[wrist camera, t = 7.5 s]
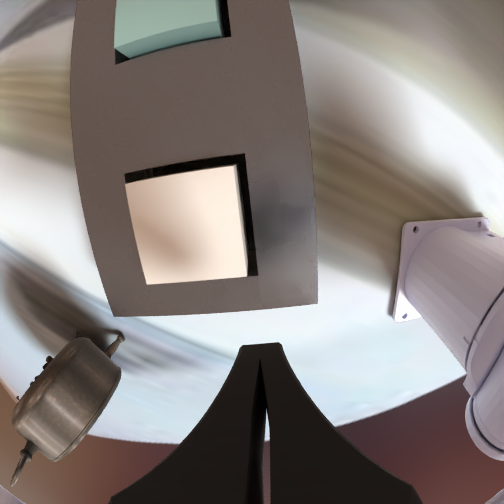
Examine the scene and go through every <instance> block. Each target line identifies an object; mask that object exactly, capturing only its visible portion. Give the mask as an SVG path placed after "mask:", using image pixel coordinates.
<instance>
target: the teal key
mask: <svg viewBox="0 0 504 504" xmlns="http://www.w3.org/2000/svg"><path fill="white" fill-rule="evenodd" d="M219 38H224V29H223V20H222V11H221V2H220V0H117V2H116V14H115V32H114V48H115V49H116V50H118V51H119V52H121V53H122V54H124V55H125V56H127V57H128V58H130V59H134V58H137V57H140V56H143V55H147V54H150V53H154V52H157V51H161V50H165V49H169V48H173V47H177V46H181V45H186V44H191V43H196V42H201V41H207V40H213V39H219Z"/></svg>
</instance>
